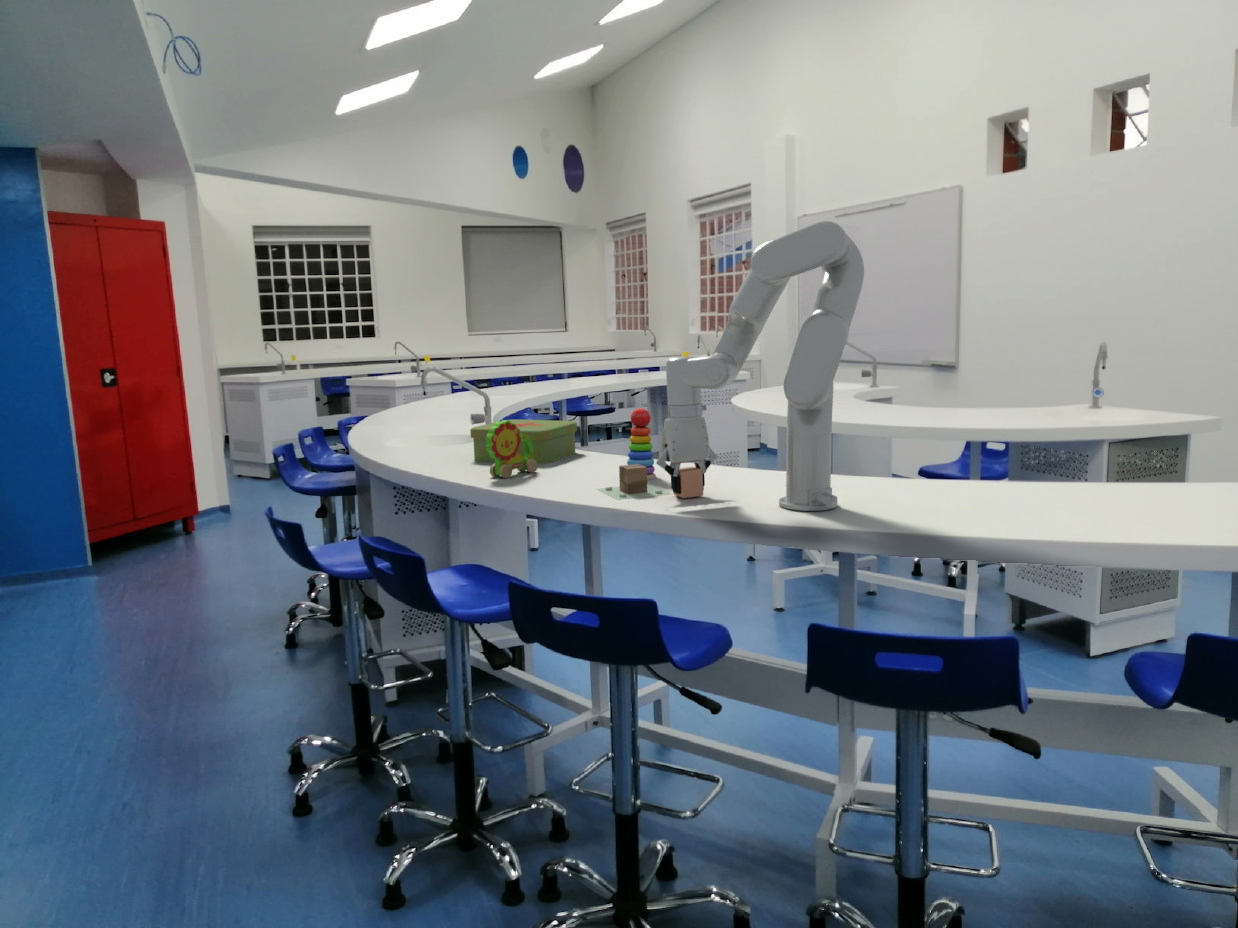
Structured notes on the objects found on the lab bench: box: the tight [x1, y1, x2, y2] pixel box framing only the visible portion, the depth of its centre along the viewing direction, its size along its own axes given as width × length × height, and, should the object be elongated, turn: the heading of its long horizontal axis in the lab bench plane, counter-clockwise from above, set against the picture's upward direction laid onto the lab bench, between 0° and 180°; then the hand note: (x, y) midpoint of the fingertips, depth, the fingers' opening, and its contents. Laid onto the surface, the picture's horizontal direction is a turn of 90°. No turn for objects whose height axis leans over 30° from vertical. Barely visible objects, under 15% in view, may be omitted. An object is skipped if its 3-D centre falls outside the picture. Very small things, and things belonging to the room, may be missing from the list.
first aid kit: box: [470, 419, 578, 465], centre depth 273 cm, size 26×26×10 cm
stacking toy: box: [626, 407, 657, 480], centre depth 226 cm, size 8×8×19 cm
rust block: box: [673, 466, 704, 499], centre depth 201 cm, size 5×5×6 cm
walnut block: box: [618, 464, 648, 494], centre depth 208 cm, size 5×5×6 cm
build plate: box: [595, 483, 673, 501], centre depth 209 cm, size 14×14×2 cm
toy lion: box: [486, 419, 539, 479], centre depth 239 cm, size 16×5×15 cm, turn 141°
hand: (688, 490), depth 201 cm, fingers closed on rust block, 5 cm apart
